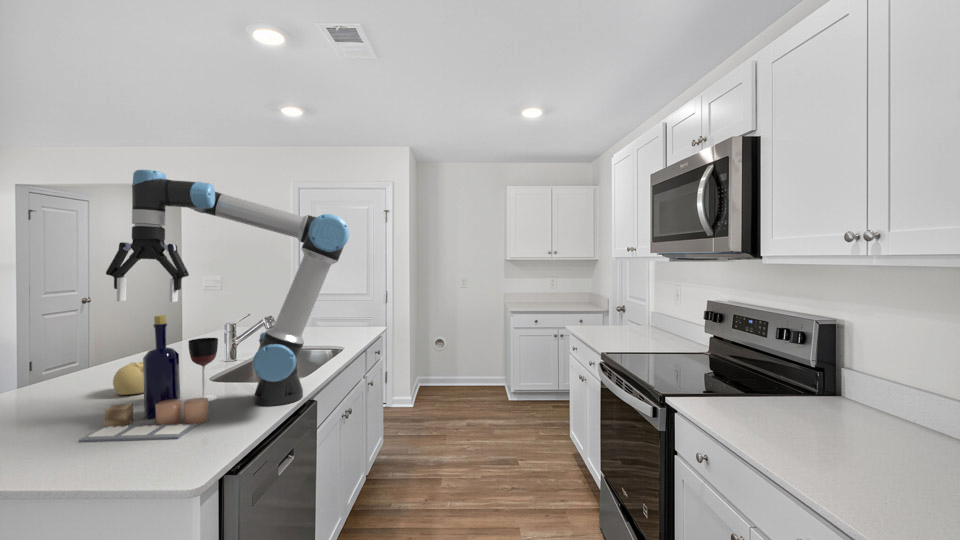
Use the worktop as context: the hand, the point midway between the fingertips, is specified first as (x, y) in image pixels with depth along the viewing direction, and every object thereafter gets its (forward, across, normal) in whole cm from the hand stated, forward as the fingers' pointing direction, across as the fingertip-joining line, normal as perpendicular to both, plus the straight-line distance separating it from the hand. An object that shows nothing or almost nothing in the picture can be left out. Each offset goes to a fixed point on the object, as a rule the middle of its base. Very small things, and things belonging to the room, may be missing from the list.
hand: (147, 301), depth 125 cm
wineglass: (+35, -5, -23) cm, 43 cm away
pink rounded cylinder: (+35, -5, -1) cm, 36 cm away
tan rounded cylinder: (+35, -12, -2) cm, 37 cm away
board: (+35, -2, +6) cm, 36 cm away
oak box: (+36, +8, -2) cm, 37 cm away
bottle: (+35, +1, -9) cm, 37 cm away
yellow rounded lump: (+36, +22, -33) cm, 53 cm away
